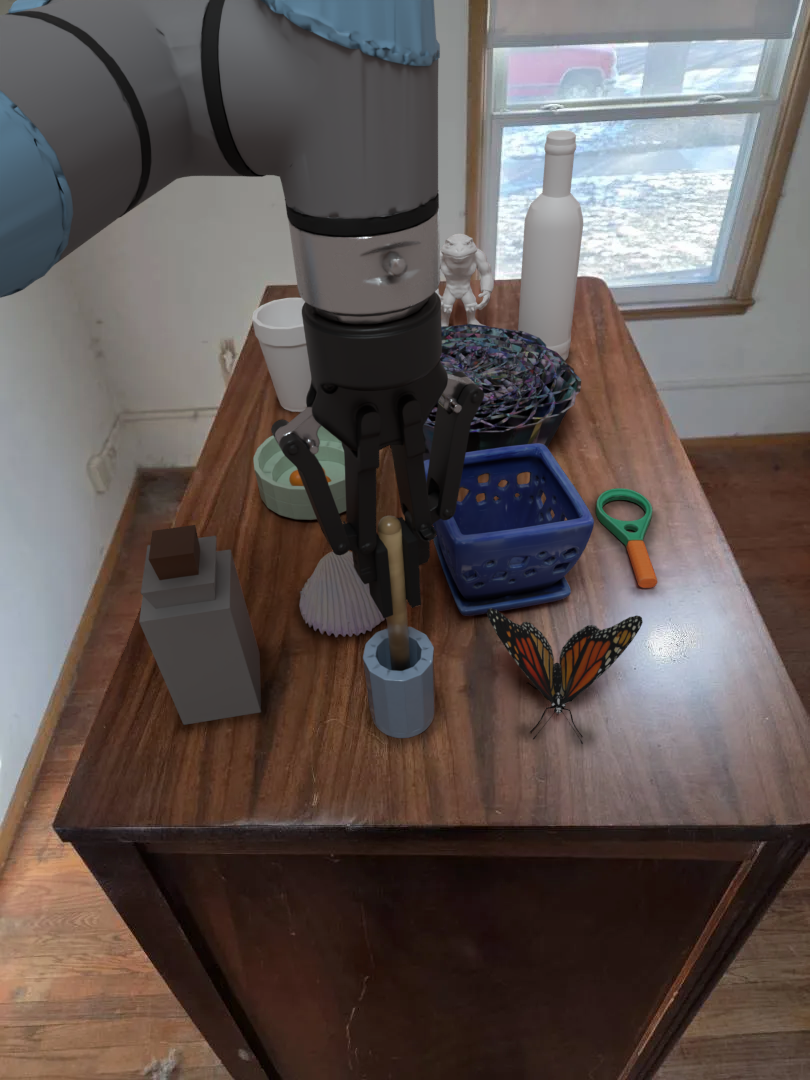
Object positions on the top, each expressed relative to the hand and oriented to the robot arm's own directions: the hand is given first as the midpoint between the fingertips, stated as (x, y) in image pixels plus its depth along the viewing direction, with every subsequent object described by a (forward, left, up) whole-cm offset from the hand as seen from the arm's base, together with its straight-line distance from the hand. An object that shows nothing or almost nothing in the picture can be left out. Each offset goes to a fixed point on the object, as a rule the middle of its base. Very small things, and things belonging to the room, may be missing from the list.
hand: (395, 599), depth 55 cm
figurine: (+1, +73, -14) cm, 74 cm away
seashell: (-7, +13, -14) cm, 21 cm away
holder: (0, 0, -14) cm, 14 cm away
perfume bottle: (-17, +1, -14) cm, 22 cm away
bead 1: (-16, +31, -12) cm, 37 cm away
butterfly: (+13, +2, -14) cm, 19 cm away
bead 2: (-13, +30, -12) cm, 35 cm away
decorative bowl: (+4, +45, -14) cm, 47 cm away
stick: (0, 0, -10) cm, 10 cm away
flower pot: (+8, +17, -14) cm, 24 cm away
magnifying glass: (+22, +24, -14) cm, 35 cm away
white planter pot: (-20, +51, -14) cm, 57 cm away
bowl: (-14, +31, -14) cm, 37 cm away
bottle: (+14, +65, -14) cm, 68 cm away
